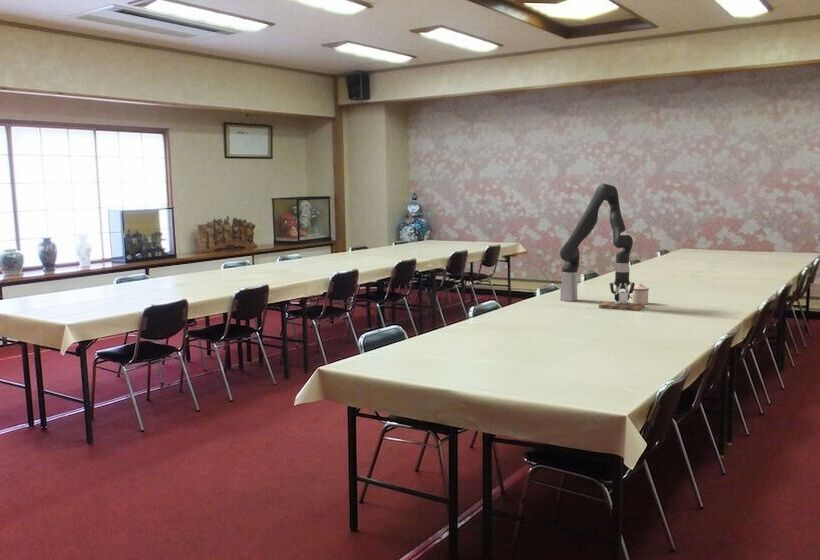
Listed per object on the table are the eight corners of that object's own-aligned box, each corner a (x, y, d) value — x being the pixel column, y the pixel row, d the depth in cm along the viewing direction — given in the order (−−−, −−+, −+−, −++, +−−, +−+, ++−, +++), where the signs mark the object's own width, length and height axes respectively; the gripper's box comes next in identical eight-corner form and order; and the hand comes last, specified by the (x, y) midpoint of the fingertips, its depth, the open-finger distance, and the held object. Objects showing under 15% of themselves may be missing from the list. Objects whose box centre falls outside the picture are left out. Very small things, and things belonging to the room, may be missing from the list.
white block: (615, 301, 418) (615, 290, 418) (623, 301, 419) (623, 290, 418) (620, 303, 410) (620, 292, 409) (628, 303, 410) (628, 292, 410)
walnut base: (598, 308, 415) (598, 303, 415) (605, 304, 426) (605, 299, 426) (638, 311, 404) (638, 306, 403) (644, 307, 415) (644, 302, 414)
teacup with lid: (650, 303, 429) (651, 283, 427) (644, 305, 422) (645, 285, 420) (630, 301, 436) (631, 281, 434) (624, 303, 429) (625, 283, 427)
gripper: (633, 269, 416) (632, 299, 418) (607, 270, 416) (607, 300, 418) (637, 271, 408) (636, 301, 411) (611, 271, 409) (610, 302, 411)
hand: (621, 300), depth 414 cm, fingers closed on white block, 5 cm apart
